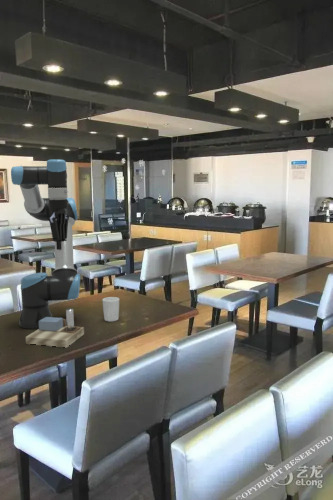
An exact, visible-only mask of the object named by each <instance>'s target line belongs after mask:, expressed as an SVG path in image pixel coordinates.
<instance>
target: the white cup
mask: <svg viewBox="0 0 333 500" xmlns="http://www.w3.org/2000/svg"><path fill="white" fill-rule="evenodd" d="M102 310H103V319H104V321H106V322H117V321H118V320H119V313H120V297H116V296H109V297H104V298H102Z"/></svg>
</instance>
